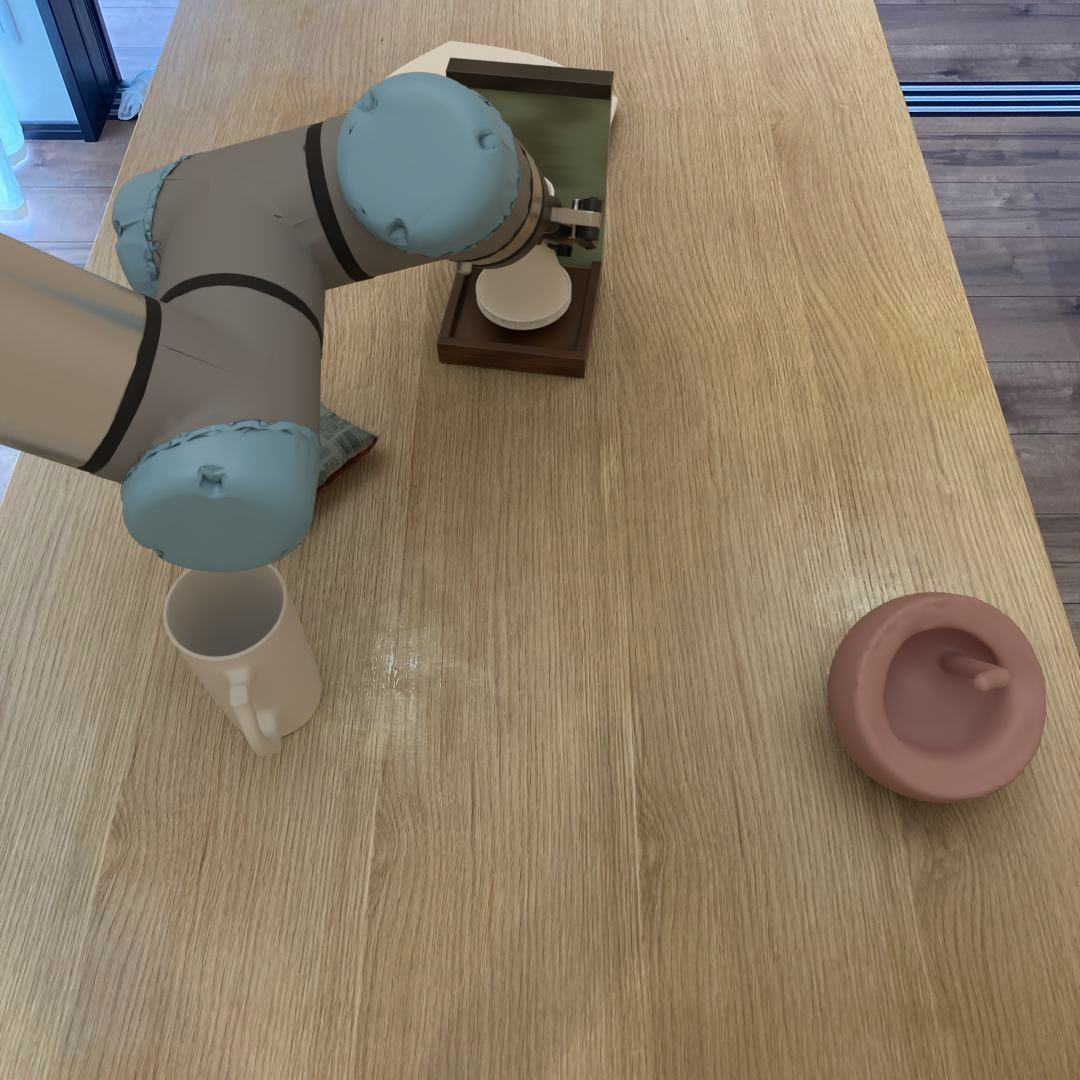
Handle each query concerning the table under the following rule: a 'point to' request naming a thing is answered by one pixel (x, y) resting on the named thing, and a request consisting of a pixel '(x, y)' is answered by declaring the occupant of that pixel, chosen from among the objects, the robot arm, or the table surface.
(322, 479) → the packaged food
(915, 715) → the mortar and pestle
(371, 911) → the table surface
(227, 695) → the mug
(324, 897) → the table surface
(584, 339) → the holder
